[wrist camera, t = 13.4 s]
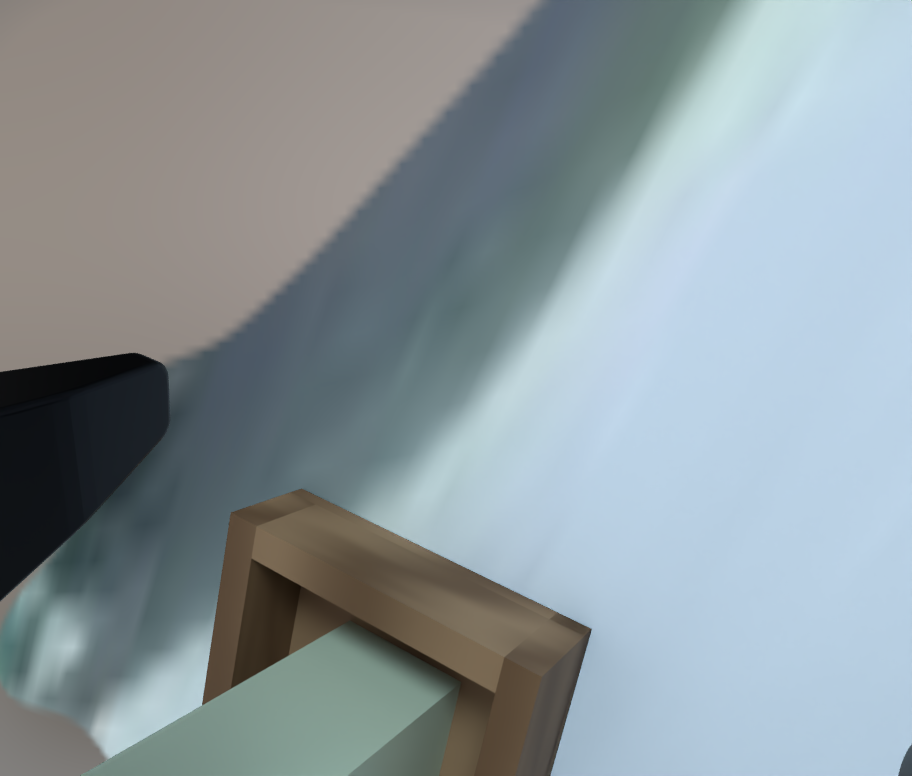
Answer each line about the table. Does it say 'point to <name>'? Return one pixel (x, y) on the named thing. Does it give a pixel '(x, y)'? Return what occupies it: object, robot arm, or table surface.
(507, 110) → the table surface
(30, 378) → the robot arm
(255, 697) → the post
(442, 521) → the table surface
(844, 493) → the table surface
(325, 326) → the table surface
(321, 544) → the socket base
